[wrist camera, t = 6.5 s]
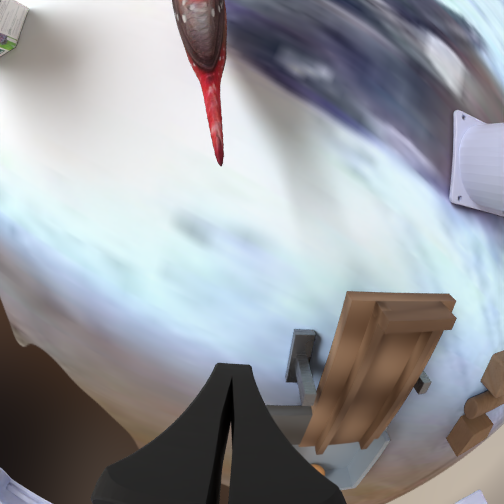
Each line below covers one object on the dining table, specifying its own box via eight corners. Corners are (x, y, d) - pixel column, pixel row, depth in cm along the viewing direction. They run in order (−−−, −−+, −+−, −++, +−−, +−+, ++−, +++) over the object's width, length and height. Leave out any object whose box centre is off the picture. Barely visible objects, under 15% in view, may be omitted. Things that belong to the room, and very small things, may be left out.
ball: (321, 485, 25) (320, 466, 28) (329, 481, 23) (327, 460, 26) (298, 487, 25) (297, 467, 27) (304, 483, 23) (303, 462, 26)
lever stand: (293, 329, 22) (304, 373, 16) (414, 328, 22) (444, 362, 16) (285, 376, 23) (291, 422, 18) (397, 371, 23) (420, 408, 18)
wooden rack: (287, 288, 15) (293, 320, 13) (448, 293, 16) (472, 317, 13) (259, 438, 21) (259, 465, 19) (375, 431, 22) (382, 454, 19)
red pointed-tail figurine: (218, -29, 13) (201, -109, 4) (253, 164, 18) (252, 156, 9) (183, -22, 14) (151, -97, 4) (210, 172, 18) (164, 173, 9)
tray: (381, 411, 25) (392, 437, 21) (349, 465, 28) (355, 487, 24) (273, 418, 25) (275, 448, 21) (261, 471, 28) (262, 495, 24)
